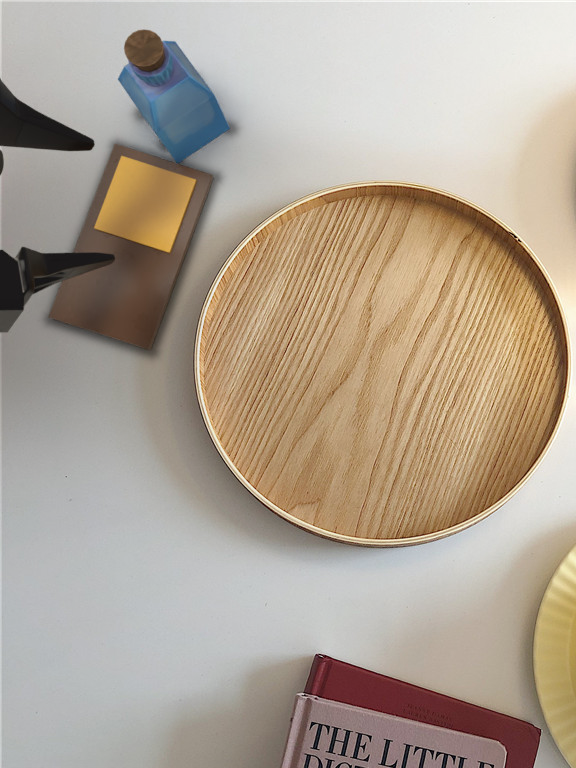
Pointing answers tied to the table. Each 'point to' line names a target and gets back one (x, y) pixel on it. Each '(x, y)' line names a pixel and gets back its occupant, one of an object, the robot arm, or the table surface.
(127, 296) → the stand
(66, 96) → the table surface
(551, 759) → the table surface
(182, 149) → the perfume bottle
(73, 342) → the table surface
